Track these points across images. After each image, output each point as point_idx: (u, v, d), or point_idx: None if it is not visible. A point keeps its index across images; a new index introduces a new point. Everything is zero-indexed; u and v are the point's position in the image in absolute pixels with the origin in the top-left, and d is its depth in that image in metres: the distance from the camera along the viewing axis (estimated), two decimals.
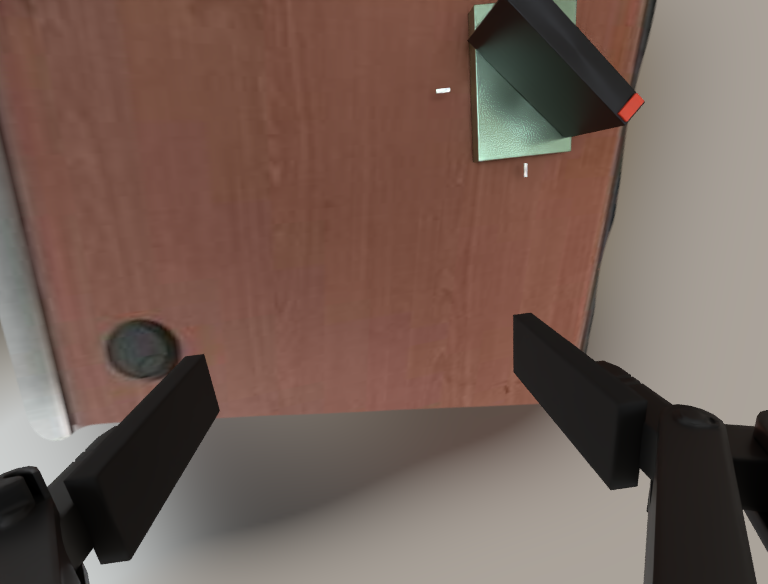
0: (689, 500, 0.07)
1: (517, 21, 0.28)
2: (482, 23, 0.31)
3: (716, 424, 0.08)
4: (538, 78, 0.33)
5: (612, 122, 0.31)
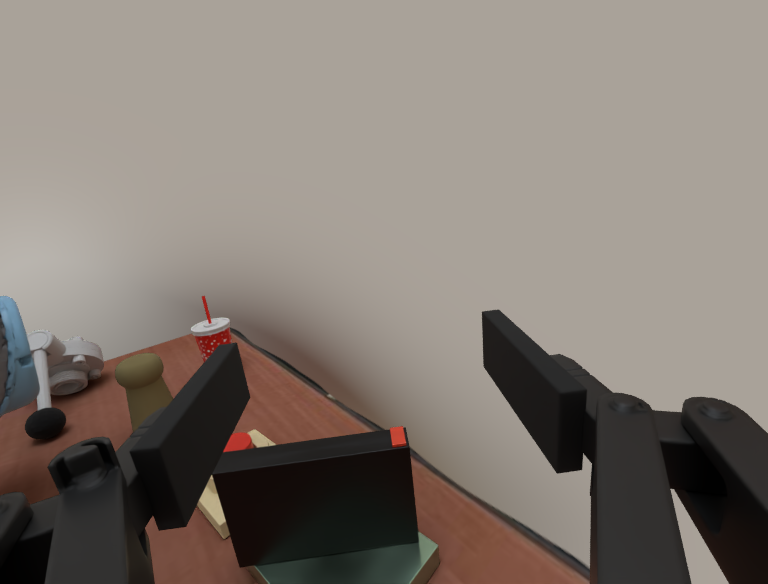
0: (625, 482, 0.07)
1: (243, 480, 0.26)
2: (228, 525, 0.27)
3: (644, 408, 0.09)
4: (319, 510, 0.27)
5: (402, 459, 0.26)
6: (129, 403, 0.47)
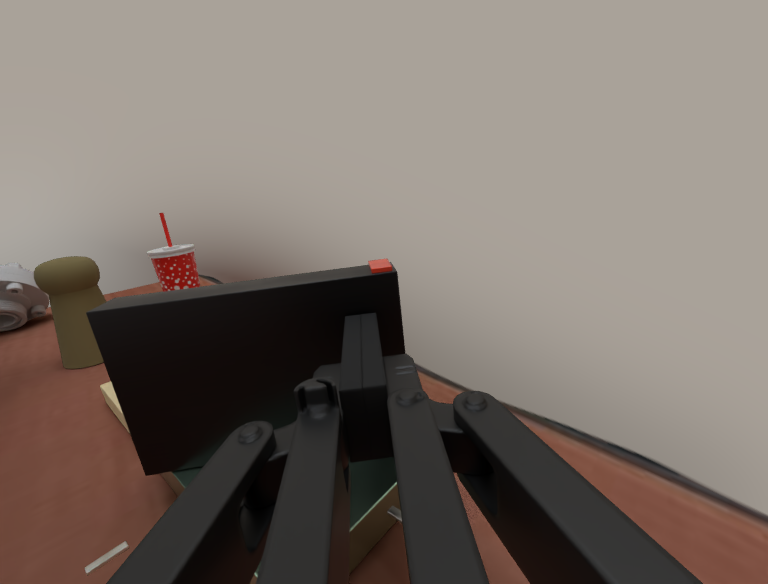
0: (418, 468, 0.08)
1: (140, 325, 0.17)
2: (121, 404, 0.18)
3: (422, 395, 0.11)
4: (263, 379, 0.18)
5: (387, 293, 0.18)
6: (53, 314, 0.37)
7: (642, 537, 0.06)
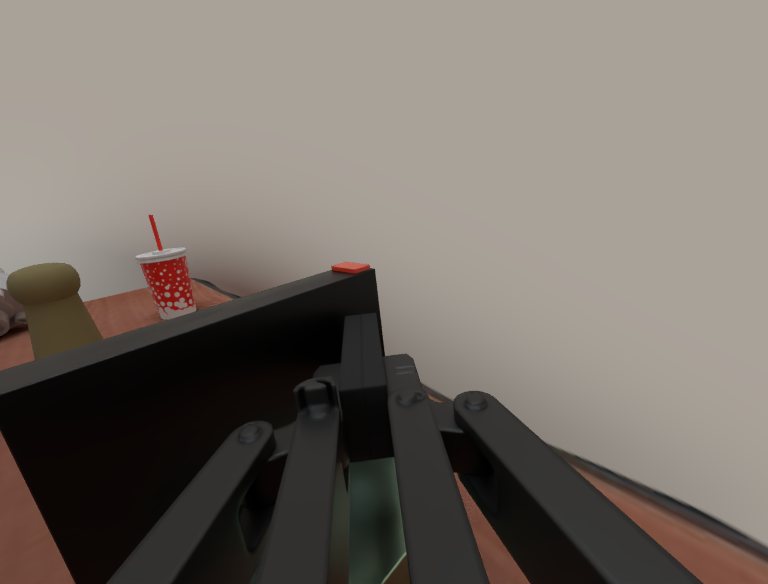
0: (418, 468, 0.08)
1: (94, 392, 0.11)
2: (58, 536, 0.11)
3: (422, 395, 0.11)
4: (264, 415, 0.15)
5: (369, 290, 0.19)
6: (29, 326, 0.34)
7: (642, 537, 0.06)
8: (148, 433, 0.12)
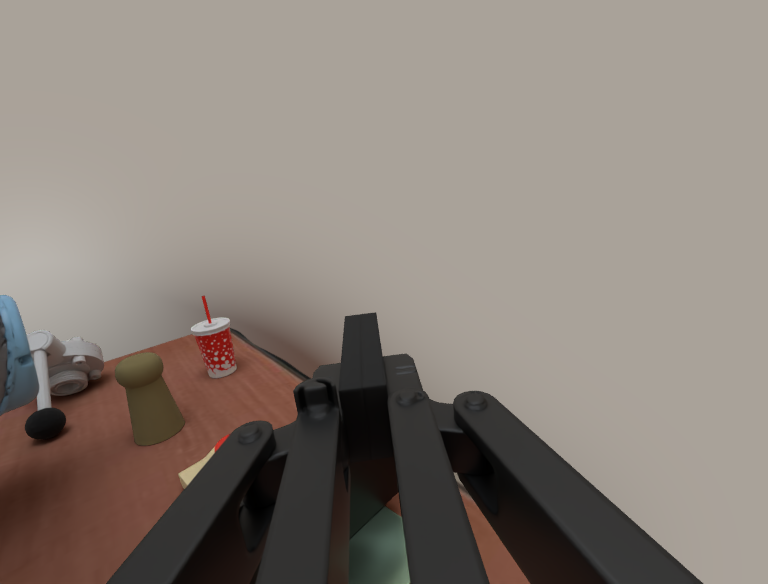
0: (418, 468, 0.08)
1: None
2: None
3: (422, 395, 0.11)
4: None
5: None
6: (129, 403, 0.46)
7: (642, 537, 0.06)
8: None
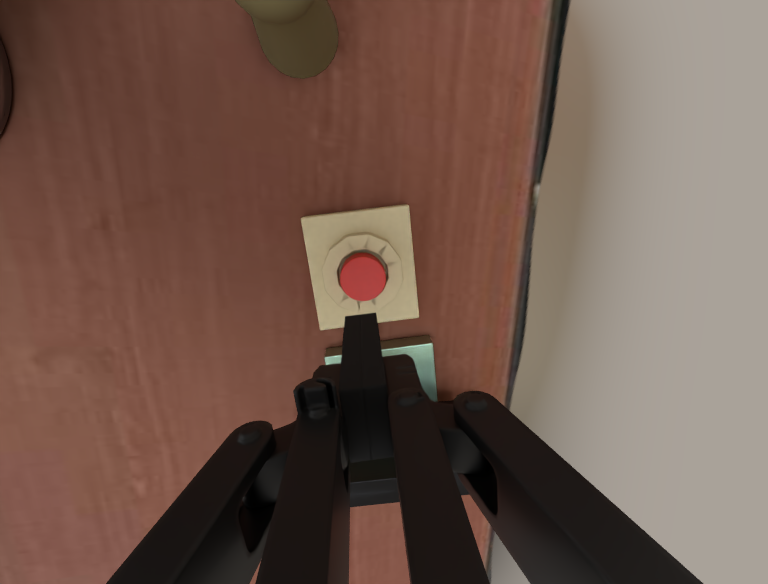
0: (418, 468, 0.08)
1: None
2: None
3: (422, 395, 0.11)
4: None
5: None
6: None
7: (642, 537, 0.06)
8: None
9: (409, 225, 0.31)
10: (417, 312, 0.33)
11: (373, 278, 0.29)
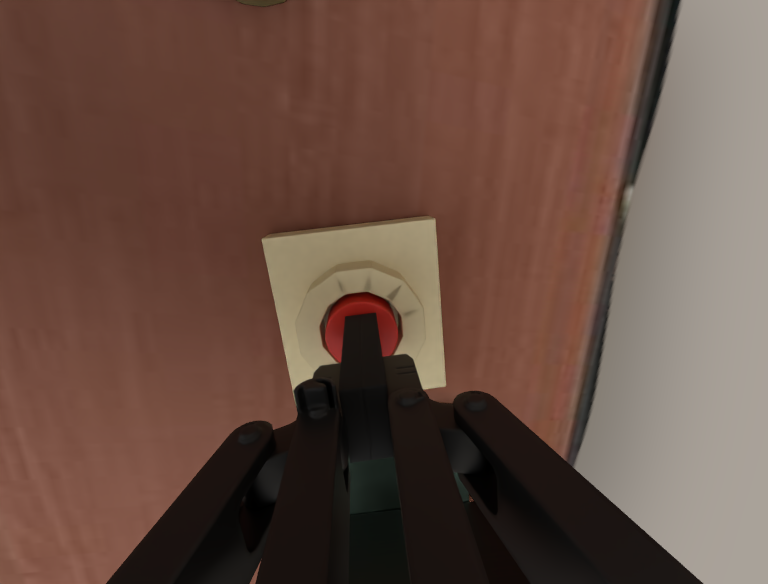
0: (418, 468, 0.08)
1: None
2: None
3: (422, 395, 0.11)
4: None
5: None
6: None
7: (642, 537, 0.06)
8: None
9: (435, 250, 0.20)
10: (443, 379, 0.22)
11: None
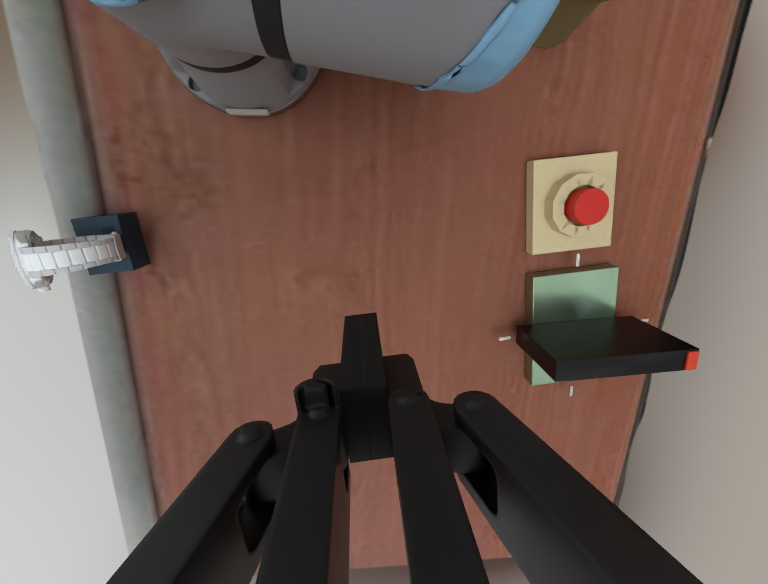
0: (418, 468, 0.08)
1: None
2: (533, 358, 0.39)
3: (422, 395, 0.11)
4: None
5: None
6: None
7: (642, 537, 0.06)
8: None
9: (615, 168, 0.39)
10: (610, 241, 0.41)
11: (600, 206, 0.37)
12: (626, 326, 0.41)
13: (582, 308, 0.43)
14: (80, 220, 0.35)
